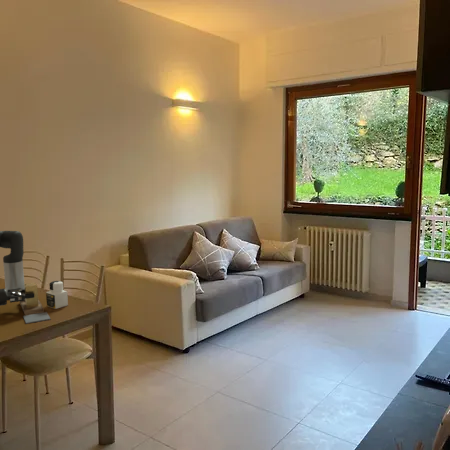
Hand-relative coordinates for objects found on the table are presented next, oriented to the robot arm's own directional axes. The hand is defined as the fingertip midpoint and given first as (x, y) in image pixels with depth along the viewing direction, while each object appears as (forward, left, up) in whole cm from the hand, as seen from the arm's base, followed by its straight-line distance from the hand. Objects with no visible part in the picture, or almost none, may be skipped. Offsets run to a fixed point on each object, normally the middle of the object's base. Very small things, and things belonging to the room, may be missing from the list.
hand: (32, 292), depth 217 cm
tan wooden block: (0, -1, -6) cm, 6 cm away
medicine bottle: (0, +10, -8) cm, 13 cm away
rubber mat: (+14, -1, -8) cm, 16 cm away
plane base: (-3, -1, -8) cm, 9 cm away
